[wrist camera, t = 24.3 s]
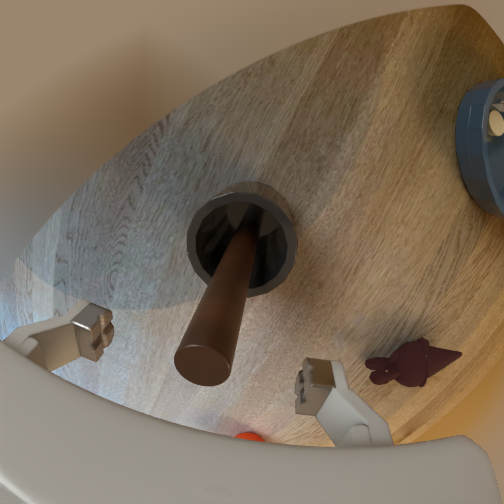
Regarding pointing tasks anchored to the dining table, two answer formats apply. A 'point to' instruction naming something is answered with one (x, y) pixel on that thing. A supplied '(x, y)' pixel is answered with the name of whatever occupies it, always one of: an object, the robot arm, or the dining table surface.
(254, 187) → the holder
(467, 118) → the bowl
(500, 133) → the dough
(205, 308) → the stick
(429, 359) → the icecream
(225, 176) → the dining table surface
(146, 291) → the dining table surface
